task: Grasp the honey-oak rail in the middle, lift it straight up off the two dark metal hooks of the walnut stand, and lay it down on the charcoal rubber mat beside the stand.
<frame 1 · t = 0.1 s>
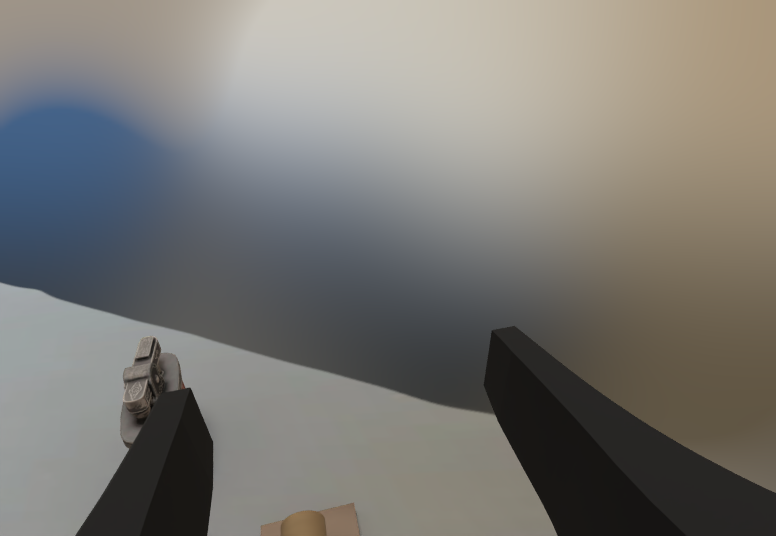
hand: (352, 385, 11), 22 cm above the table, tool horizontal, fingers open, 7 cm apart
lighter: (182, 464, 34), on the table
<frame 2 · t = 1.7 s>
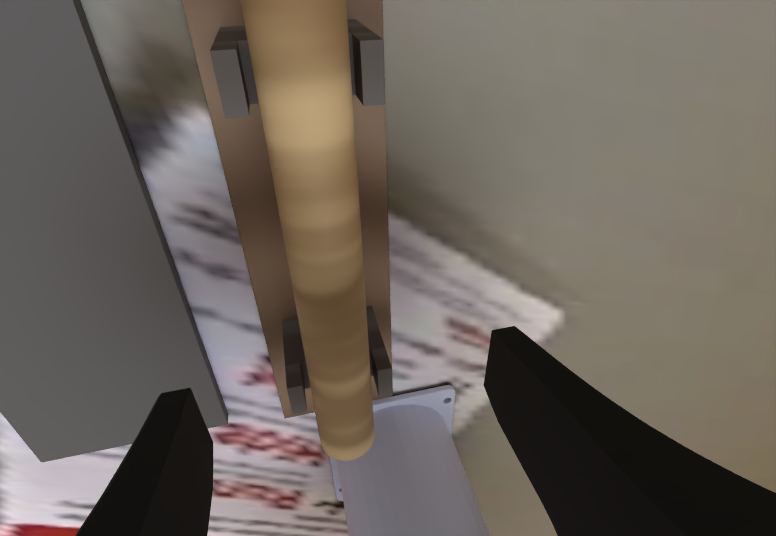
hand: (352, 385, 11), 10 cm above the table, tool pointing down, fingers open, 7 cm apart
hook stand: (312, 203, 19), on the table
rail: (322, 252, 16), point 4 cm above the table, touching hook stand
mat: (32, 239, 17), on the table
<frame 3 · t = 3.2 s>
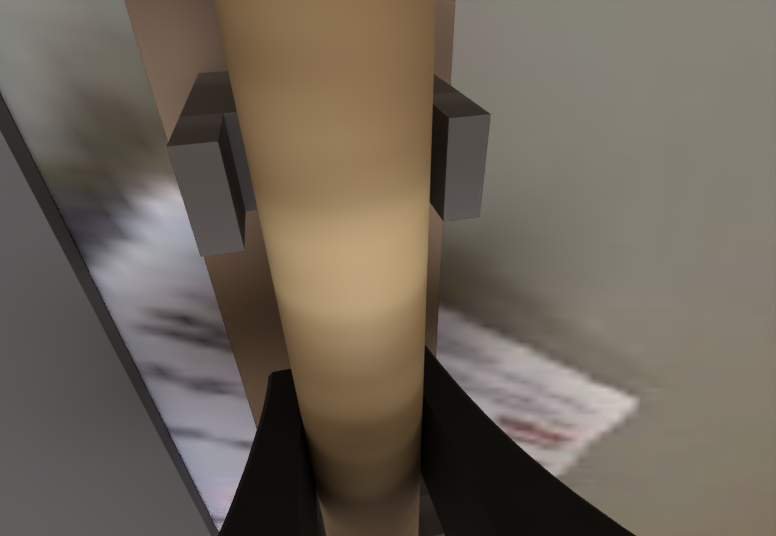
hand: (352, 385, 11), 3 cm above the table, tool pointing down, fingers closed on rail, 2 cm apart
hook stand: (333, 299, 14), on the table
rail: (355, 398, 11), point 4 cm above the table, touching gripper, hook stand
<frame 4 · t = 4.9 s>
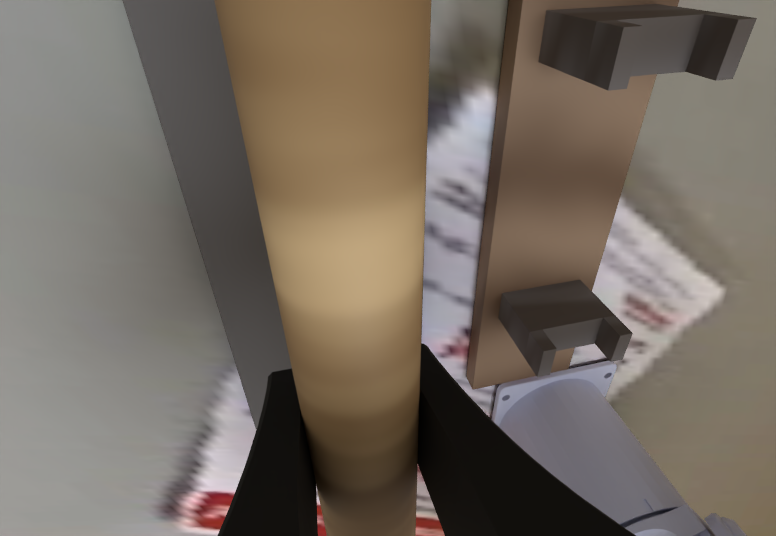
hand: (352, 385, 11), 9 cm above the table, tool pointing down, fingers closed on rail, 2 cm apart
hook stand: (550, 180, 20), on the table
rail: (357, 393, 11), point 9 cm above the table, touching gripper
mat: (313, 211, 18), on the table
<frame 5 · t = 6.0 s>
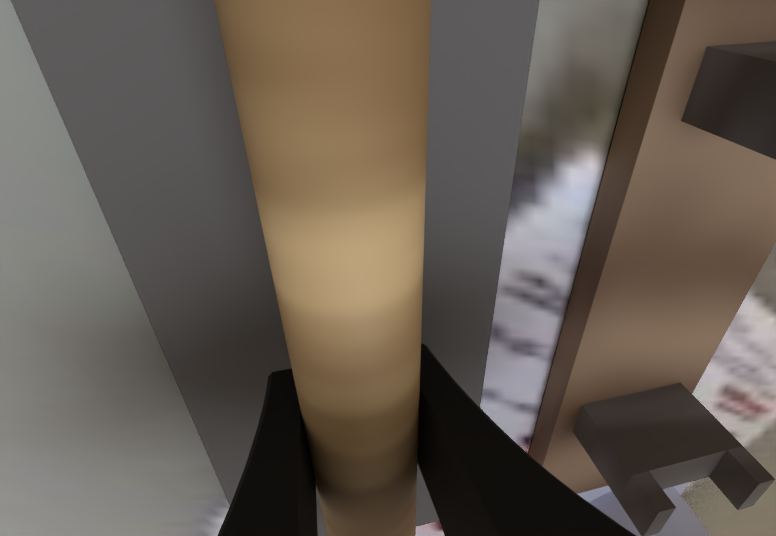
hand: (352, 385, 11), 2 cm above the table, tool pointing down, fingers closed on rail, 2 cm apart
hook stand: (657, 265, 15), on the table
rail: (357, 392, 11), point 3 cm above the table, touching gripper
mat: (338, 320, 13), on the table
when the fingers open (2 cm above the table, at t = 6.9 s): rail drops 1 cm, resting on mat.
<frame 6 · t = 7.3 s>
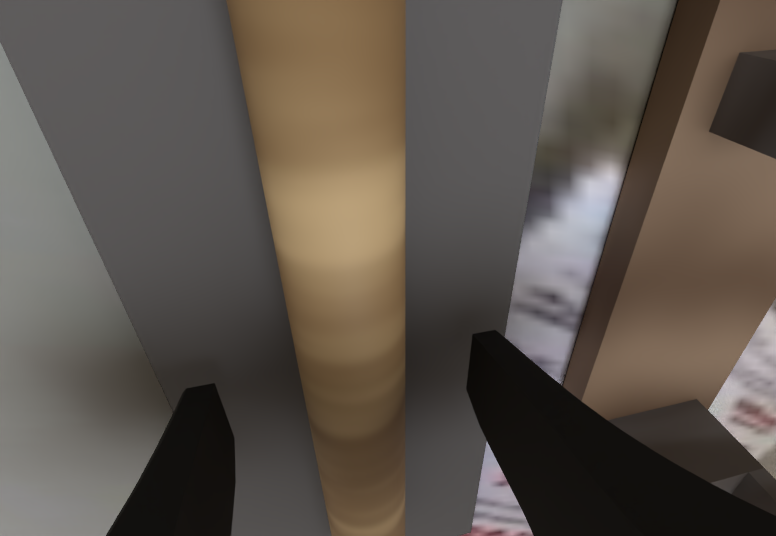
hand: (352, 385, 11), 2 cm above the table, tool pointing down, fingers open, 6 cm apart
hook stand: (676, 279, 14), on the table
rail: (349, 357, 12), point 1 cm above the table, touching mat
mat: (342, 340, 12), on the table
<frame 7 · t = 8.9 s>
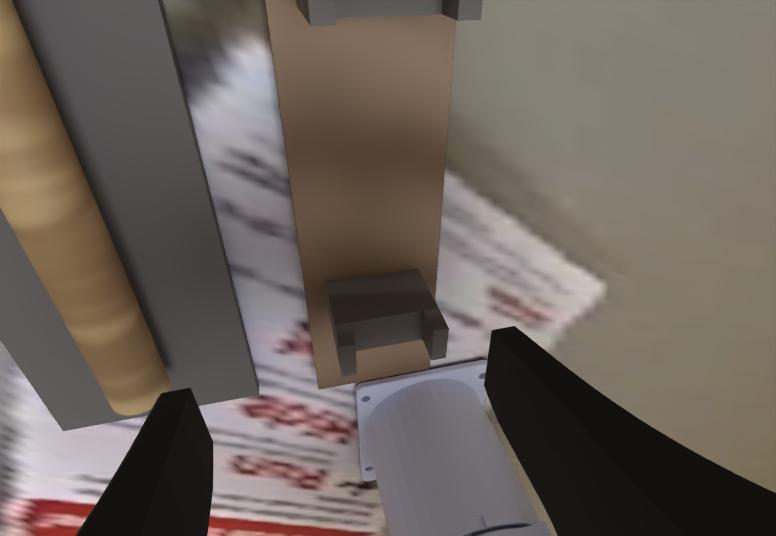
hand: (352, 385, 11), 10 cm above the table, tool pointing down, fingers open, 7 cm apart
hook stand: (364, 153, 18), on the table
rail: (67, 190, 16), point 1 cm above the table, touching mat
mat: (68, 181, 16), on the table
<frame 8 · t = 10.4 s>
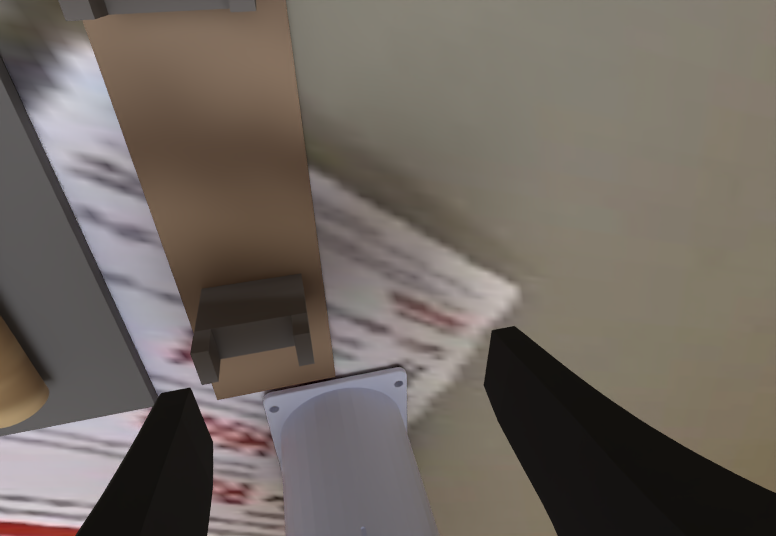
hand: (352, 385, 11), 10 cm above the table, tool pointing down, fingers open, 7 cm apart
hook stand: (226, 157, 18), on the table
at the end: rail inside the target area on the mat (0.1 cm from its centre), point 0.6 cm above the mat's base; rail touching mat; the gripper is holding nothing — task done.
